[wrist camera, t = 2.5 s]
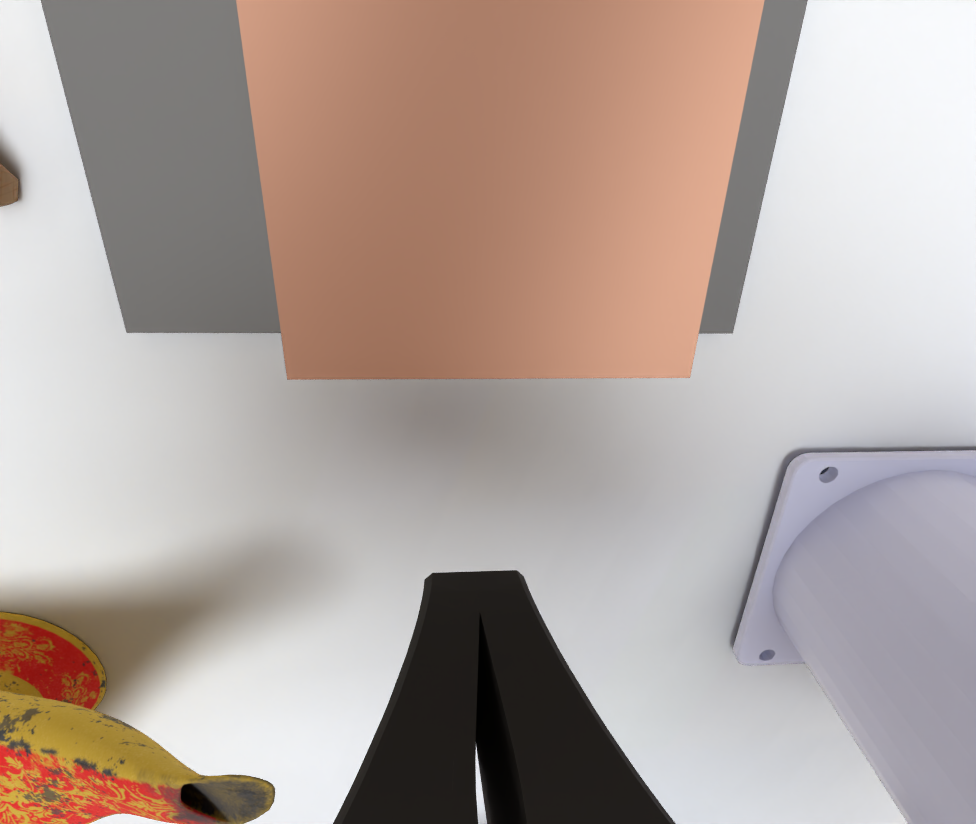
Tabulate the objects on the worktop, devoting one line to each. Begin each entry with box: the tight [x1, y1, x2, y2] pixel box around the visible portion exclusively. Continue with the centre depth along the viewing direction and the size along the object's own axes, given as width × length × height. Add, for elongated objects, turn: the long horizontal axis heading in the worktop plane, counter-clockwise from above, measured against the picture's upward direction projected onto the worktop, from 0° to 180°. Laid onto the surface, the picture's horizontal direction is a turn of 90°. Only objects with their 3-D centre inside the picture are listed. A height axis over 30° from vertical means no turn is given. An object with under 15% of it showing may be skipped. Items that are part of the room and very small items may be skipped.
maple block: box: [236, 0, 765, 380], centre depth 9 cm, size 4×4×8 cm
